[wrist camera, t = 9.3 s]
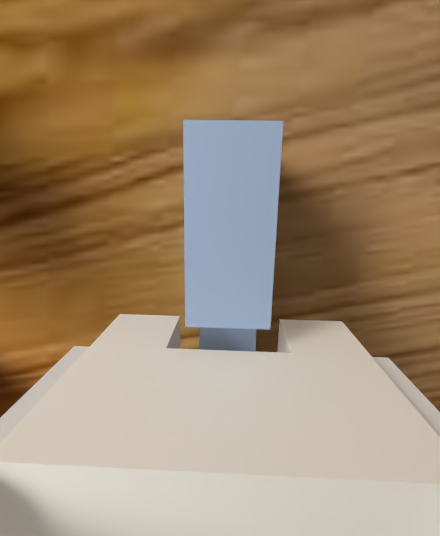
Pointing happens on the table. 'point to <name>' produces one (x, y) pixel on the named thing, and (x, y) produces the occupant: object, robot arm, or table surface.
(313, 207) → the table surface
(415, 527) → the white notched block
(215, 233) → the blue batten
